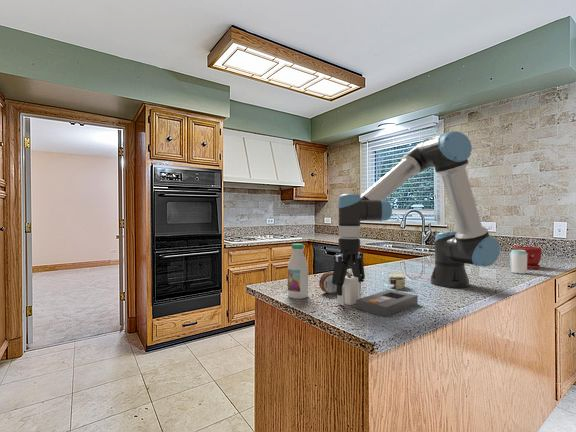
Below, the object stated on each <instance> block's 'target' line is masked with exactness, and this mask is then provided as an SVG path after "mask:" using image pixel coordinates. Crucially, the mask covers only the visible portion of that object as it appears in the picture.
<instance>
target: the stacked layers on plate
mask: <svg viewBox="0 0 576 432" xmlns="http://www.w3.org/2000/svg"><path fill="white" fill-rule="evenodd" d="M388 276H389V277H387V279H388V282H387V284H388V285H392V286H393V288H395V289H396V290H402V289H403V288H405V287H406V285H405V284H407V282H406V279H407V278H406V277H405V276H406V274H403V273H402V274H401V273H393V274H388Z"/></svg>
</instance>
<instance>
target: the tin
mask: <svg viewBox="0 0 576 432" xmlns="http://www.w3.org/2000/svg"><path fill="white" fill-rule="evenodd" d="M347 274H351V276H353V273H352V272H351V273H350V272H349V271H347V273H346V276H347ZM353 277H354V276H353ZM332 279H333V271H327V272H325V273H323V274H322V275H321V277H320V279H319V283H318V285H319V288H320V290H321V291H322V292H324V293H326V294H330V295H333V294H337V286H336V285H334V284H332Z"/></svg>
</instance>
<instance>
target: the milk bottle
mask: <svg viewBox="0 0 576 432" xmlns="http://www.w3.org/2000/svg"><path fill="white" fill-rule="evenodd" d="M304 249H305V244H303V243H291V251H292V253H291V255H290V258H289V260H288V264H287V296H288V298H290V299H294V300H299V299H300V300H301V299H306V298H308V296H309V267H308V265H309V264H308V261H307V259H306V256H305V253H304Z"/></svg>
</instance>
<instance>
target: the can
mask: <svg viewBox="0 0 576 432" xmlns="http://www.w3.org/2000/svg"><path fill="white" fill-rule="evenodd" d="M509 255H510V256H509V264H510V266H509V269H510V270H509V272H511V273H512V272H513V273H512V274H515V273H519V274H518V275H526V274H527V273H528V269H527V255H528V253H526V251H525V250H511V251H510V254H509Z"/></svg>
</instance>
